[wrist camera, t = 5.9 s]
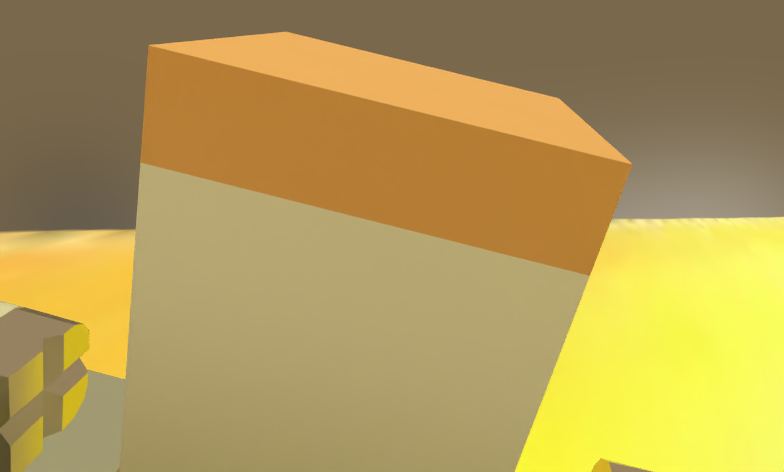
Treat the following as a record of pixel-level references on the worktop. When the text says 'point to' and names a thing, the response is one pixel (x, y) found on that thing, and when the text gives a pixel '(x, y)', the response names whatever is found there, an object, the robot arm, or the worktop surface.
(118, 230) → the worktop surface
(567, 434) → the worktop surface
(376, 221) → the orange-capped beige pillar
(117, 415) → the board
